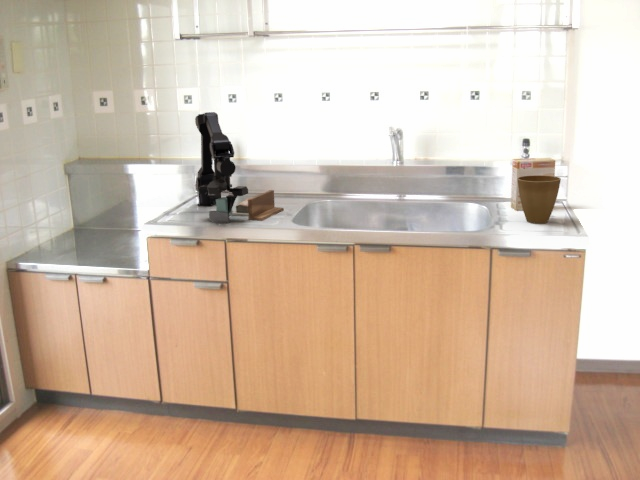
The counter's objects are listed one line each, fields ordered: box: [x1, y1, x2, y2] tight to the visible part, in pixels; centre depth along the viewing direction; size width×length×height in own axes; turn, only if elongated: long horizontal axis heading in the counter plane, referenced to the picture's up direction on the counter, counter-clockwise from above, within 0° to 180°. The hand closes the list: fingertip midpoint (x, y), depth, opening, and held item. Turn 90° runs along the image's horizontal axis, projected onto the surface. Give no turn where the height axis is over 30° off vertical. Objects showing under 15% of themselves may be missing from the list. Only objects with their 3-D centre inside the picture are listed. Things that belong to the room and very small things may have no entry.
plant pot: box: [517, 175, 562, 224], centre depth 257 cm, size 15×15×16 cm
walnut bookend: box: [247, 189, 284, 222], centre depth 280 cm, size 6×20×8 cm, turn 158°
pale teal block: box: [215, 196, 233, 217], centre depth 272 cm, size 4×5×7 cm
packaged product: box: [232, 197, 251, 217], centre depth 287 cm, size 18×5×10 cm
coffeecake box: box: [510, 157, 556, 211], centre depth 278 cm, size 15×7×20 cm, turn 92°
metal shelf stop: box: [208, 210, 231, 224], centre depth 269 cm, size 8×1×4 cm, turn 69°
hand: (224, 212), depth 273 cm, fingers closed on pale teal block, 4 cm apart
